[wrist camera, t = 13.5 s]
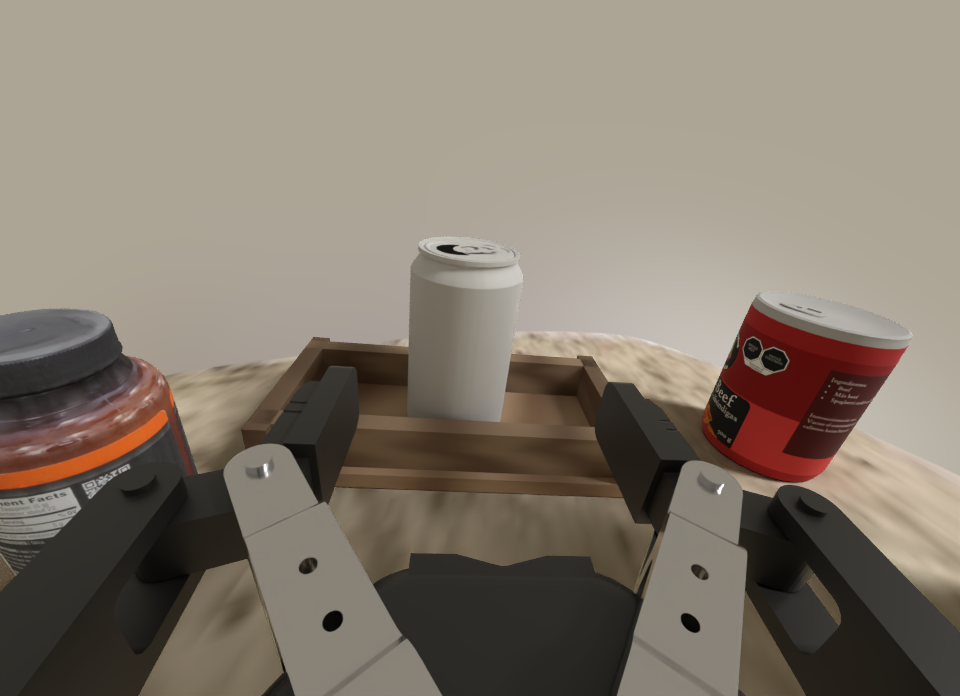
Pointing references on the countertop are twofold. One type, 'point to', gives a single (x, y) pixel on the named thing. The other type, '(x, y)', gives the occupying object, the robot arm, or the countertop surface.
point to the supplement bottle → (73, 422)
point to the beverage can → (461, 328)
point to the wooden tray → (460, 427)
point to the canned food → (799, 382)
